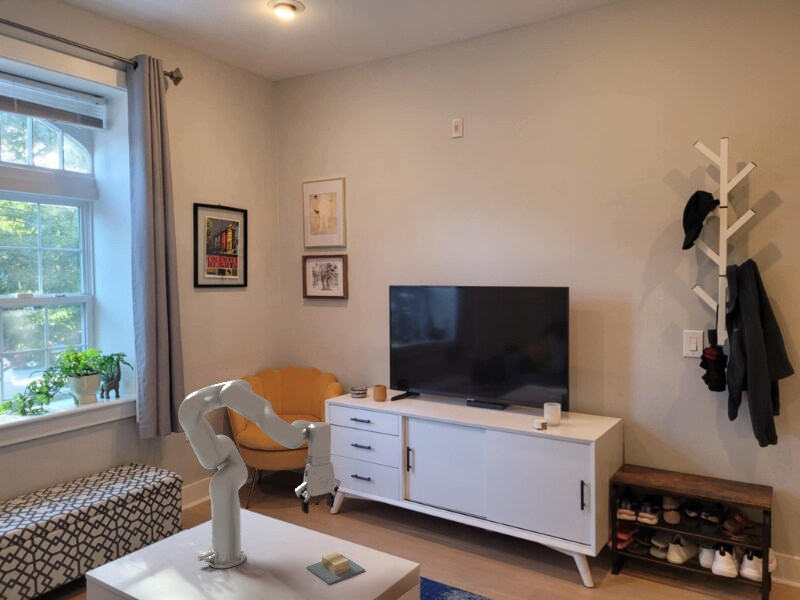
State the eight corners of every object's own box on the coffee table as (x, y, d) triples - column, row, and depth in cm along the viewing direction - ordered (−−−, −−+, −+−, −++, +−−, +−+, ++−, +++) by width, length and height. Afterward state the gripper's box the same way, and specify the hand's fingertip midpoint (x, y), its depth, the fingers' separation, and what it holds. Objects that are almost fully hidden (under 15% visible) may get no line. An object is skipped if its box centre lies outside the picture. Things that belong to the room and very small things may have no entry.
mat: (329, 584, 184) (328, 583, 184) (306, 568, 194) (306, 566, 194) (364, 571, 192) (364, 569, 192) (341, 556, 203) (341, 554, 203)
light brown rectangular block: (322, 566, 195) (321, 556, 195) (335, 561, 198) (335, 551, 198) (335, 575, 189) (335, 565, 189) (349, 569, 192) (349, 560, 192)
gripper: (301, 466, 190) (300, 518, 190) (346, 458, 200) (345, 507, 201) (291, 460, 196) (289, 511, 196) (335, 452, 206) (333, 500, 207)
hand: (317, 509), depth 198 cm, fingers open, 9 cm apart
